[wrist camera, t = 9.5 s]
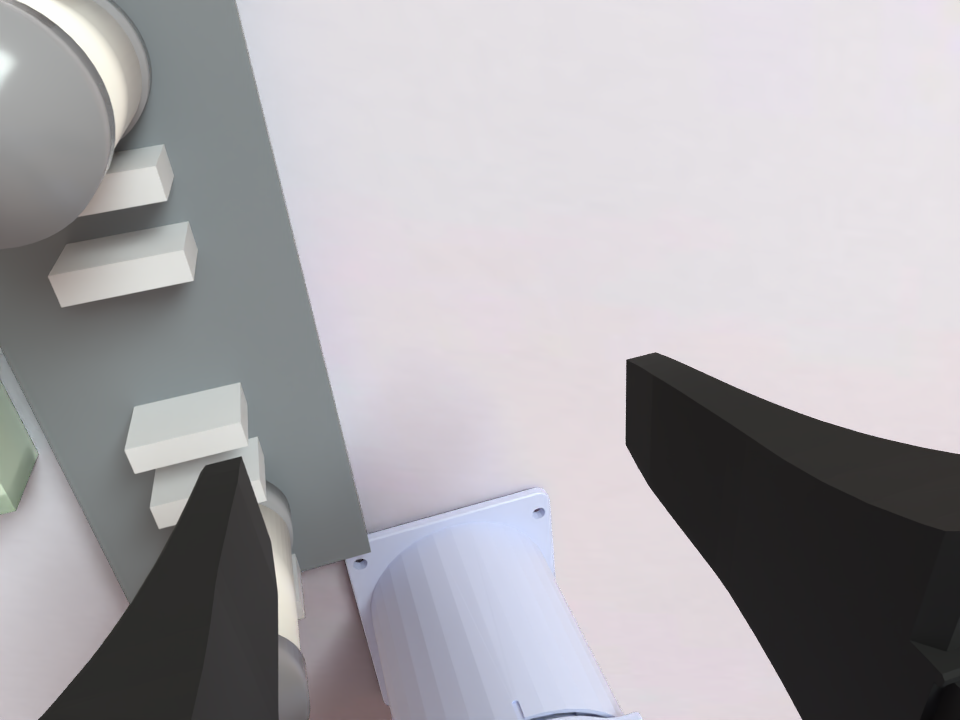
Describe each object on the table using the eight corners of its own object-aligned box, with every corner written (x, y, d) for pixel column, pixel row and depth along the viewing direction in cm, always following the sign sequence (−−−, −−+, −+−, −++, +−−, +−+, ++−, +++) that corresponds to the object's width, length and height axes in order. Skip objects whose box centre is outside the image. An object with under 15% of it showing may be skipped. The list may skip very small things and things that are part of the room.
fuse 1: (172, 129, 18) (138, 224, 12) (14, 155, 17) (-111, 271, 11) (121, -36, 16) (48, -29, 10) (-57, -15, 16) (-256, 9, 9)
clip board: (366, 529, 27) (381, 597, 24) (140, 592, 26) (128, 672, 23) (208, -107, 17) (203, -119, 14) (-179, -66, 16) (-273, -70, 13)
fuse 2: (302, 544, 25) (324, 741, 19) (193, 574, 25) (179, 789, 18) (276, 462, 23) (291, 650, 17) (158, 492, 23) (128, 699, 16)
